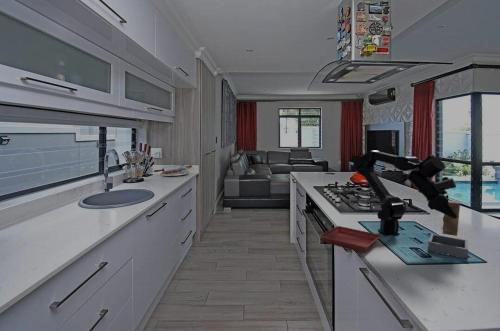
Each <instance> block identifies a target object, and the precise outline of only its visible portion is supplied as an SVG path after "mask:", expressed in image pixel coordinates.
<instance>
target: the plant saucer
mask: <svg viewBox="0 0 500 331" xmlns="http://www.w3.org/2000/svg"><path fill="white" fill-rule="evenodd" d="M319 237H320V238H321V239H322V240H323V241H324V242H325V243H326V244H328V245H332V246H336V247H341V248H342V249H349V250H352V251H355V252H359V253H365V251H366V250H368V249H369V248H370V247H371V246H372V245H374V244H375V243H376V242H377V241H378V240H379V239H380V238H381V237H382V235H381V234H377V233H372V232H369V231H365V230H359V229H356V228H355V229H354V228H349V227H346V226H340V225H337V226H335V227H333V228H331V229H330V230H329V229H328V231H325V232H324V233H321V234H320V235H319Z"/></svg>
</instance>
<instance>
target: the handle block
mask: <svg viewBox="0 0 500 331" xmlns="http://www.w3.org/2000/svg"><path fill="white" fill-rule="evenodd" d="M448 205H449V206H450V207H451V209H452V210H453V212H454V213H455V214H456V216H457V218H455V219H454V218H452V217H450V216H448V215H446V214H443V217H444V222H443V221H442V224H443V226H442V235H443V234H444V235H447V236H455V237H457V236H458V230H459V218H460V209H461V208H460V207H461V203H460V201H457V200H450V199H448Z"/></svg>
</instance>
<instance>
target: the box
mask: <svg viewBox="0 0 500 331" xmlns="http://www.w3.org/2000/svg"><path fill="white" fill-rule="evenodd" d="M427 245H428V246H427V251H428V252H430V251H432V252H431V253H434V252H438V253H437V254H439V253H443V254H442V255H444V254H449V255H453V256H458V257H462V258H461V259H463V258H466V259H465V260H468V257H469V256H468V255H469V253H468V252H469V242H468V239H462V238H458V237H452V236H448V235H447V236H446V235H443V234H442V235H440V234H435V233H430V237H429V239H428V243H427ZM449 255H448V256H449ZM453 256H452V257H453ZM458 257H457V258H458Z"/></svg>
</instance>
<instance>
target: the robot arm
mask: <svg viewBox="0 0 500 331" xmlns="http://www.w3.org/2000/svg"><path fill="white" fill-rule="evenodd" d="M377 161H378V162H381V163H385V164H388V165H392V166H394V168H396V169H398V170H400V171H402V172H409V173H403V175H402V182H403V183H406V181H409V182H410V184H412V185H413V186H414V187H415V188H416V190H417V191H418V193H420V194H422V195H423V197H425V199H426V201H427V207H428V208H429V209H430V210H431V211H432V210H435V211H437V212H439V213H442V214H443V215H444V214H446V215H448V216H450V217H452V218H454V219H455V218H457V216H456V214H455V213H454V212H453V210H452V209H451V207H450V206H449V205H448V200H449V194H448V191H447V190H450V189H455V188H457V185H456V183H455V181H454V178H452V177H450V178H449V177H448V176H443V177H442V178H441V181H438V182H435V180H431V178H434V177H435V176H437V175H438V174H440V173H441V172H443V171H444V170H445V169H446V166H445V163H444V161H442V160H441V159H439V158H438V157H436V156H435V155H433V154H430V155H428V156H427V157H426V158H425V159H423V160H419V158H418V157H416V156H408V155H406V156H402V155H400V156H399V155H395V154H392V153H388V152H382V151H381V150H380V151H379V150H369V151H367V152H366V153H365V154H363V155H361V156H359V157H358V158H356V159H355V160H354V161H353V164H352V166H353V169H354V170H355V172H357V174H360V175H361V176H363V177H364V179H365V181H366V182H367V183H368V184H369V186H370V188H371V189H372V190H373V192H374V194H375V195H376V196H377V199H379V201H380V209H381V210H380V211H378V212H377V219H379V220H380V221H379V222H380V223H379V224H380V225H379V228H378V229H377V231H378V232H380V233H382V234H383V235H385V236H400V233H399V228H400V227H399V226H400V223H399V220H402V217H403V216H404V215H405V211H406V207H405V203H403V202H402V200H401V199H400V197H399V196H392V195H391V194H390V192H389V191H388V189H387V187H385V186H386V185H384V183H383V182H382V181H381V180H380V178H379V176H378V175H377V174H376V172H375V165H376V164H377Z"/></svg>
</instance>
